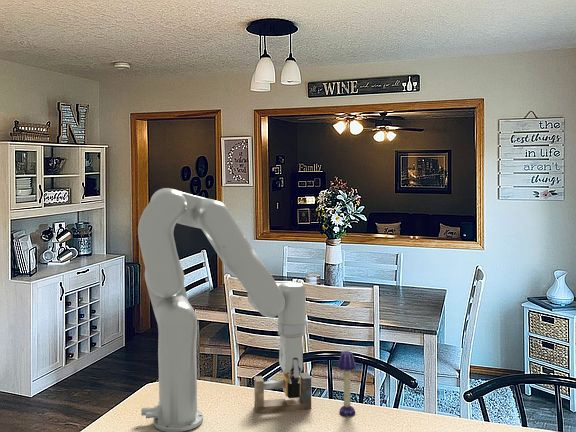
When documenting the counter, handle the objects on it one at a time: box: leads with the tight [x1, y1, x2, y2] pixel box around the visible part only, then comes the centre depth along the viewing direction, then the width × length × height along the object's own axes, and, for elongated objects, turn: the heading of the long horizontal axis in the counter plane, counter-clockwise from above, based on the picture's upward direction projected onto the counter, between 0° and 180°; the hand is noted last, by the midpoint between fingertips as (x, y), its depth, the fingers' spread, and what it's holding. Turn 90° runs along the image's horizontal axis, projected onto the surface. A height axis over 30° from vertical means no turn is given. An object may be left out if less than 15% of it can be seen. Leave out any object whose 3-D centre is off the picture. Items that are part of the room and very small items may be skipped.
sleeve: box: [282, 371, 301, 398], centre depth 155 cm, size 4×5×5 cm
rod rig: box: [253, 372, 312, 414], centre depth 155 cm, size 15×4×8 cm, turn 101°
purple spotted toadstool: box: [337, 350, 356, 417], centre depth 151 cm, size 5×5×17 cm
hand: (291, 392), depth 155 cm, fingers closed on sleeve, 5 cm apart
